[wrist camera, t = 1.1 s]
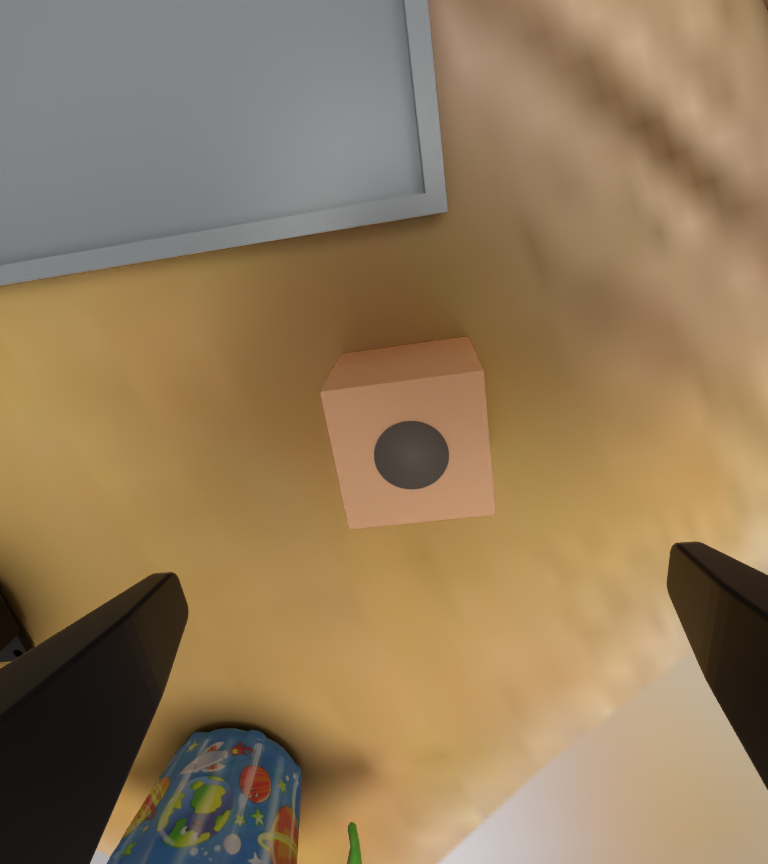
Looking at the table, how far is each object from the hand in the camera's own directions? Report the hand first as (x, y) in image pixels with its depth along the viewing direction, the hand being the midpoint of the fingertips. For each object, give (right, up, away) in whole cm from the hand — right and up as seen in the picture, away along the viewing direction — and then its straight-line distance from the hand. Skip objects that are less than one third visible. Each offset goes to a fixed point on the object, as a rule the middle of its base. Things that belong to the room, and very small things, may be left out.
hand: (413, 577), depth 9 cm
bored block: (+1, +4, +12) cm, 12 cm away
